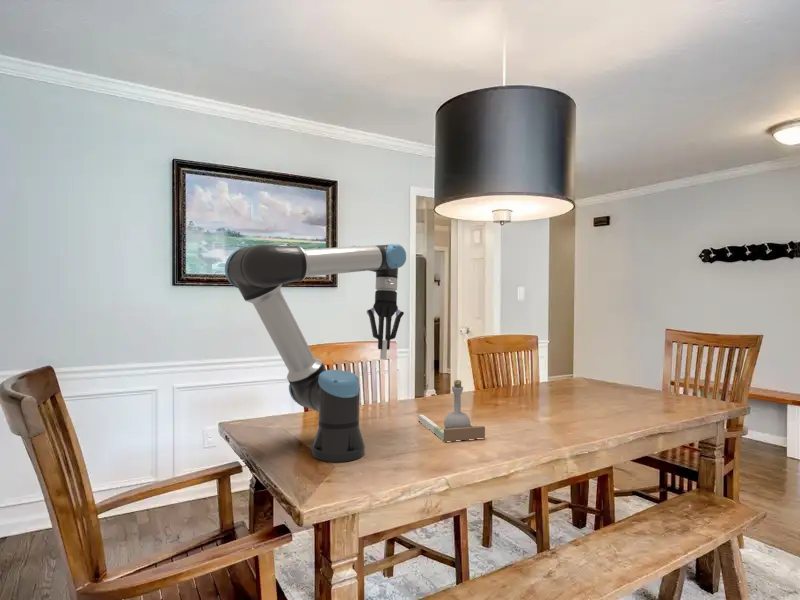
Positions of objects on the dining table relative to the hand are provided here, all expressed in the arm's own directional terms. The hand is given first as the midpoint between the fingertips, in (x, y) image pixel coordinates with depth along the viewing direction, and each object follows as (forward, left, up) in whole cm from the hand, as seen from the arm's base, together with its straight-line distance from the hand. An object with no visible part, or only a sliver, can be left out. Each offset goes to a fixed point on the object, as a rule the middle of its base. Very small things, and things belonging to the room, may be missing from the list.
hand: (383, 359), depth 164 cm
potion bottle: (-4, -25, -24) cm, 35 cm away
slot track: (+2, -23, -24) cm, 33 cm away
